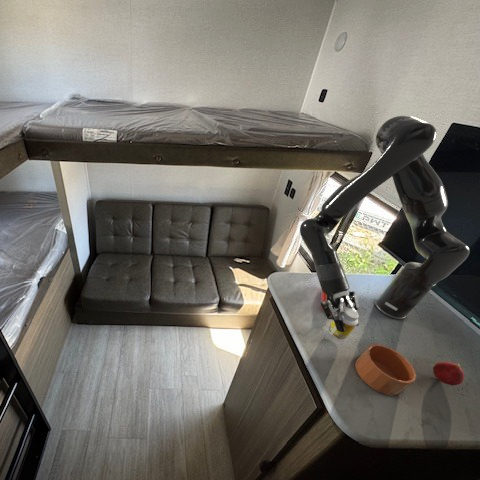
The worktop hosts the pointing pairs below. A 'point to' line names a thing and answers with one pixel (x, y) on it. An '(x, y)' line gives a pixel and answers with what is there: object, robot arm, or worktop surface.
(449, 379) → the red oval piece
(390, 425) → the worktop surface
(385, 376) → the orange-brown round open container
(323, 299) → the candy bar
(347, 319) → the supplement bottle
